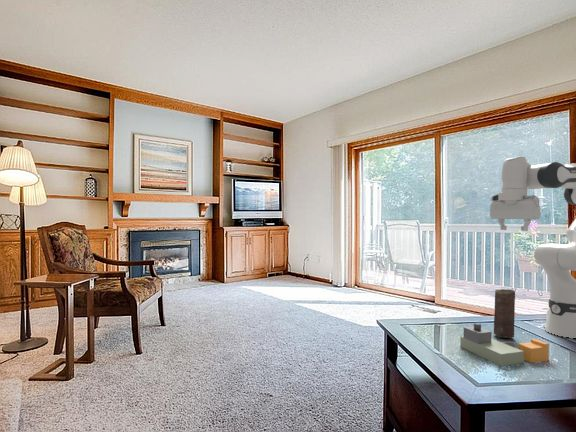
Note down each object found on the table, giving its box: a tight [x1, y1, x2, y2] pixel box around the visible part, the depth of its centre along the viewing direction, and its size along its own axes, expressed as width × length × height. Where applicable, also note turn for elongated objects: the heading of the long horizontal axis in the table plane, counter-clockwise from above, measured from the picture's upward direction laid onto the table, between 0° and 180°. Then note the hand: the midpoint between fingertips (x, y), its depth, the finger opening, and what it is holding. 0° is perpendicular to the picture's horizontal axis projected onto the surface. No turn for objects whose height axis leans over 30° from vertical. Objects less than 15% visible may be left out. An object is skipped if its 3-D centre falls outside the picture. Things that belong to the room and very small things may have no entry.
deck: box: [460, 322, 525, 367], centre depth 129 cm, size 20×18×10 cm
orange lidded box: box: [517, 338, 550, 364], centre depth 124 cm, size 8×5×6 cm, turn 106°
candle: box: [493, 288, 516, 339], centre depth 146 cm, size 8×7×20 cm
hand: (513, 230), depth 141 cm, fingers open, 8 cm apart
